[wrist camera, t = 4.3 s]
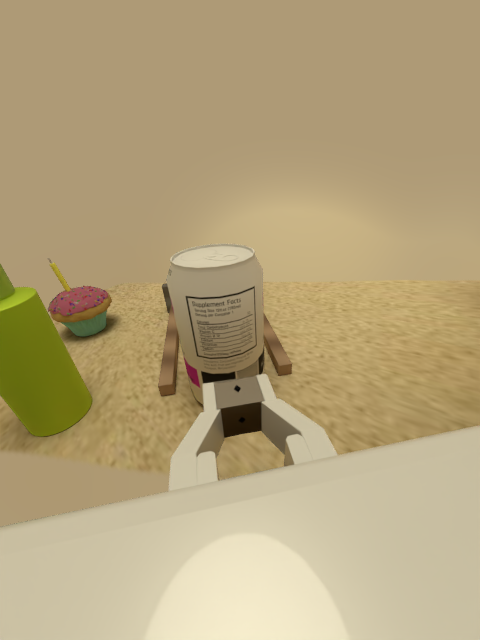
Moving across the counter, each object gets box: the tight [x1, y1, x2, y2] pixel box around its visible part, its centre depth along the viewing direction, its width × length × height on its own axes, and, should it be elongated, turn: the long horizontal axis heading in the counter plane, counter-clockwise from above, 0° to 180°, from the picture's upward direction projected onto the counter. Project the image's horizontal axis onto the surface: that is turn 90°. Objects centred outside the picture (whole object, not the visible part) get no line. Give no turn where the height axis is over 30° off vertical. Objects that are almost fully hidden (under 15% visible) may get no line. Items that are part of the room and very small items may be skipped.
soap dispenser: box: [0, 264, 92, 437], centre depth 21 cm, size 6×7×20 cm
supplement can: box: [166, 244, 264, 404], centre depth 24 cm, size 8×8×15 cm
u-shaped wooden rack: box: [158, 284, 292, 396], centre depth 36 cm, size 22×16×5 cm
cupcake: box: [48, 258, 112, 337], centre depth 38 cm, size 9×8×12 cm
